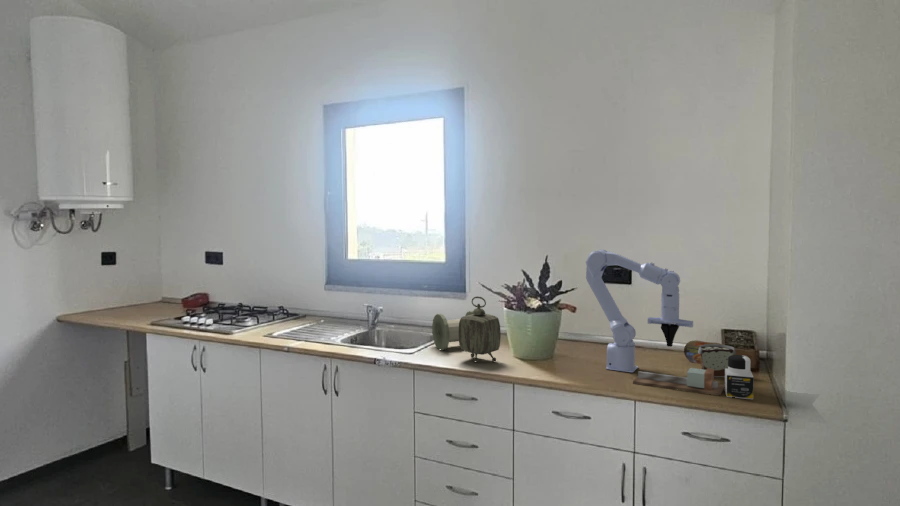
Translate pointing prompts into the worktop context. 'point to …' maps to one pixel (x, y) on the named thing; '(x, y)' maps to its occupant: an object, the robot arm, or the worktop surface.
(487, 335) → the tabletop clock
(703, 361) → the food container
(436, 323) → the spool
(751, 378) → the medicine bottle
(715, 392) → the rail board
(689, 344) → the tin
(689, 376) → the pale green block
